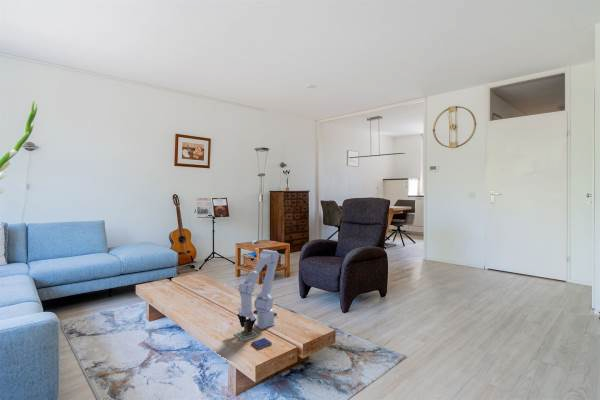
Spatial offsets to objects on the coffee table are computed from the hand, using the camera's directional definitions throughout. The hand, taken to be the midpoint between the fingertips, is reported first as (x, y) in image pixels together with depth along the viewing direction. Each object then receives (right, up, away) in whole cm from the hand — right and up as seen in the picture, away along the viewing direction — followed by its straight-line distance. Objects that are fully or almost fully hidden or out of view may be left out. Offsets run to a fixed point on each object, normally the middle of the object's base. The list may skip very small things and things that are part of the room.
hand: (246, 329), depth 177 cm
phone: (+7, -3, +30) cm, 31 cm away
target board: (0, -3, 0) cm, 3 cm away
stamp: (0, -3, 0) cm, 3 cm away
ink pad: (+10, -4, -10) cm, 14 cm away
